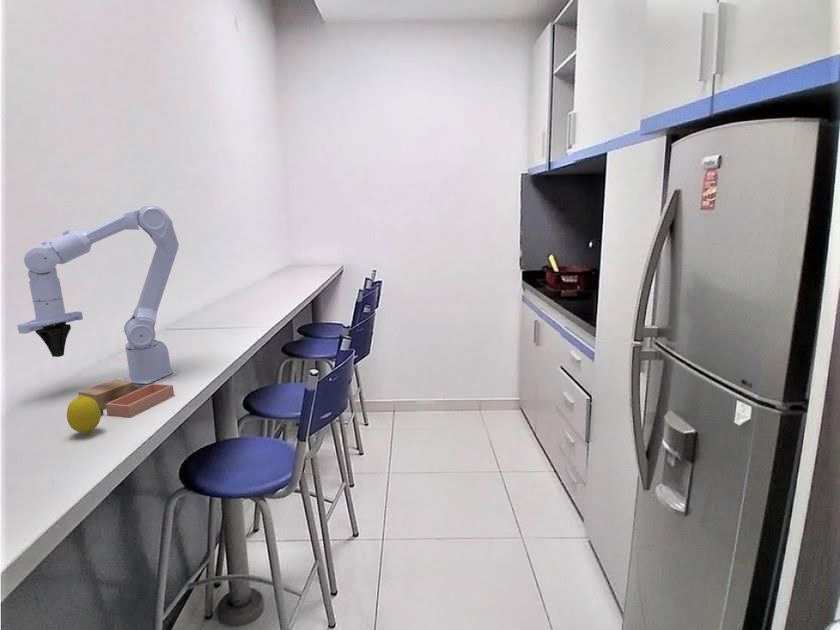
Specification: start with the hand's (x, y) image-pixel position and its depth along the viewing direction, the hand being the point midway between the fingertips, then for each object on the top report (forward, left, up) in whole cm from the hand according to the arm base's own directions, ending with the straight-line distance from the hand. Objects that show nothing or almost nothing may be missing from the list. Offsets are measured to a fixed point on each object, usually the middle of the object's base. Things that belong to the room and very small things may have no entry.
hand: (58, 355), depth 124 cm
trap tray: (+2, +25, -9) cm, 26 cm away
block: (+2, +16, -10) cm, 19 cm away
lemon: (+17, +26, -10) cm, 32 cm away
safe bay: (+2, +17, -9) cm, 19 cm away
